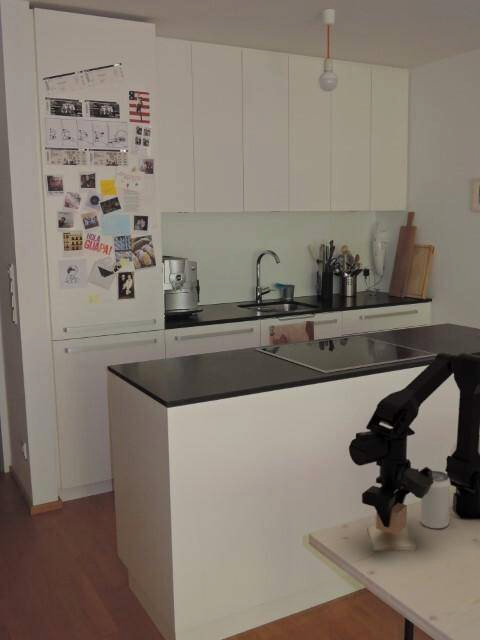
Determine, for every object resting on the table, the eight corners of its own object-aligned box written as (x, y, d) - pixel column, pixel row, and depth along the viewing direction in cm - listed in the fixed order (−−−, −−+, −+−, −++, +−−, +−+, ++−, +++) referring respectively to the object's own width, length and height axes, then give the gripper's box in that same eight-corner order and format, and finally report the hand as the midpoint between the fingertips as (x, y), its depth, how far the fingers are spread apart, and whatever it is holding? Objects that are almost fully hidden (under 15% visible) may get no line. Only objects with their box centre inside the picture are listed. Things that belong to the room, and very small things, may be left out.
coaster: (405, 530, 151) (406, 526, 150) (415, 550, 142) (415, 546, 142) (367, 530, 151) (367, 526, 151) (374, 550, 142) (374, 546, 142)
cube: (385, 520, 149) (386, 499, 148) (406, 526, 146) (406, 505, 145) (376, 528, 145) (376, 507, 144) (397, 534, 142) (397, 513, 142)
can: (449, 530, 150) (452, 481, 148) (420, 528, 151) (422, 479, 150) (446, 518, 156) (448, 470, 154) (419, 516, 158) (420, 469, 156)
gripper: (411, 478, 131) (409, 550, 133) (444, 451, 146) (441, 516, 148) (361, 466, 138) (359, 534, 140) (397, 441, 152) (395, 503, 155)
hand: (391, 522), depth 146 cm, fingers closed on cube, 5 cm apart
